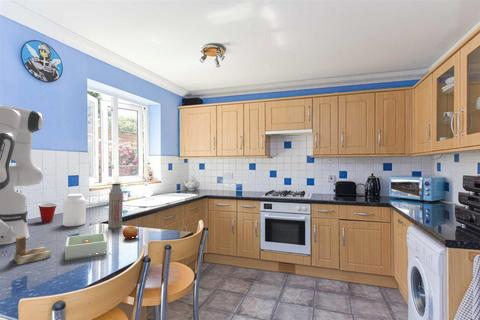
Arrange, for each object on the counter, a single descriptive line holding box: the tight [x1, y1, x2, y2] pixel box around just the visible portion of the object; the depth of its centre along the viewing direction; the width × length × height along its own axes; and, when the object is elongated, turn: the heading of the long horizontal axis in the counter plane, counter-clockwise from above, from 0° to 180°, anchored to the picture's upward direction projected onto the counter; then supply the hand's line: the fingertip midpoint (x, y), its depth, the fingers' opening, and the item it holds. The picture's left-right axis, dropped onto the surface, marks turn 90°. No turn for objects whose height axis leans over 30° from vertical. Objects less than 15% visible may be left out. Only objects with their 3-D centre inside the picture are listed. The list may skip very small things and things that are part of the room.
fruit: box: [122, 225, 139, 241], centre depth 145 cm, size 8×8×8 cm
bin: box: [64, 232, 108, 261], centre depth 123 cm, size 16×16×6 cm
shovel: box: [13, 236, 51, 265], centre depth 114 cm, size 11×8×10 cm
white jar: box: [62, 193, 87, 227], centre depth 172 cm, size 12×12×20 cm
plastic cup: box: [37, 202, 58, 223], centre depth 178 cm, size 11×11×12 cm
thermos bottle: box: [107, 183, 124, 229], centre depth 168 cm, size 8×8×28 cm
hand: (12, 233), depth 108 cm, fingers open, 8 cm apart
